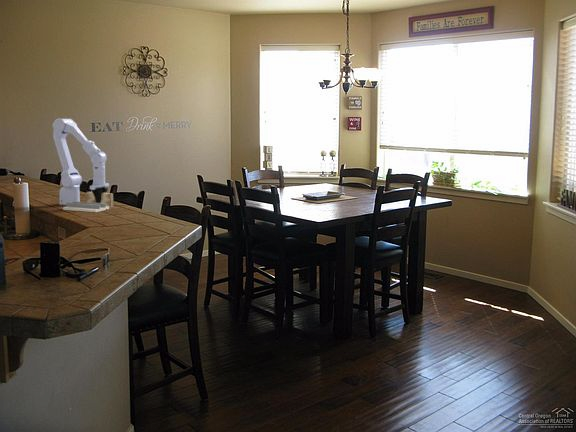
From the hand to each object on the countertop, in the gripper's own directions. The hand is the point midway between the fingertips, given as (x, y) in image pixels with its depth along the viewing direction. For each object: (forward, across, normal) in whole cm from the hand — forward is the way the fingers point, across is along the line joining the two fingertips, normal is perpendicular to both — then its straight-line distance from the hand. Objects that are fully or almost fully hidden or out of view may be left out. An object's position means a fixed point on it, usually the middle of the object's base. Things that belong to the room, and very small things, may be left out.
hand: (99, 202), depth 305 cm
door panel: (+2, 0, 0) cm, 2 cm away
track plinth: (+2, -12, 0) cm, 12 cm away
